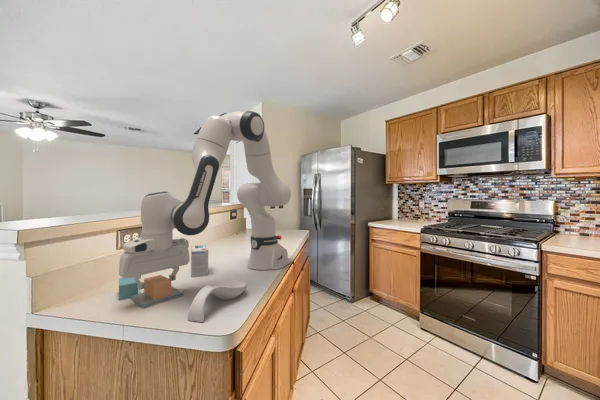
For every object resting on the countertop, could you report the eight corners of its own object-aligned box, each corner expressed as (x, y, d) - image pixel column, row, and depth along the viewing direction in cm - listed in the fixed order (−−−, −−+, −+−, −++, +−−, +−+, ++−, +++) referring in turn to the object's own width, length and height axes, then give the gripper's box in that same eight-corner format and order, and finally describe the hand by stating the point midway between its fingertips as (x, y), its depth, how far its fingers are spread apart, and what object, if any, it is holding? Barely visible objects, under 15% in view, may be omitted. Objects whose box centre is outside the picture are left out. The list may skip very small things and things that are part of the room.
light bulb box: (191, 269, 108) (191, 245, 108) (207, 268, 111) (207, 244, 111) (190, 277, 99) (190, 250, 98) (208, 275, 101) (208, 249, 101)
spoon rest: (221, 287, 89) (221, 268, 89) (252, 290, 87) (252, 270, 86) (176, 320, 66) (176, 294, 66) (216, 325, 63) (216, 298, 63)
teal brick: (136, 289, 87) (136, 275, 86) (138, 297, 80) (137, 282, 80) (119, 292, 84) (118, 278, 84) (118, 300, 77) (118, 285, 77)
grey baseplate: (169, 287, 88) (169, 285, 88) (183, 295, 82) (183, 292, 82) (130, 299, 78) (130, 296, 78) (143, 308, 72) (143, 304, 72)
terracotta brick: (160, 288, 84) (160, 274, 84) (171, 294, 79) (171, 280, 79) (144, 293, 80) (144, 278, 80) (154, 299, 75) (154, 284, 75)
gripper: (183, 236, 90) (184, 274, 90) (116, 245, 73) (117, 291, 74) (193, 238, 86) (193, 277, 86) (124, 248, 69) (124, 297, 70)
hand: (157, 284), depth 80 cm, fingers open, 8 cm apart
